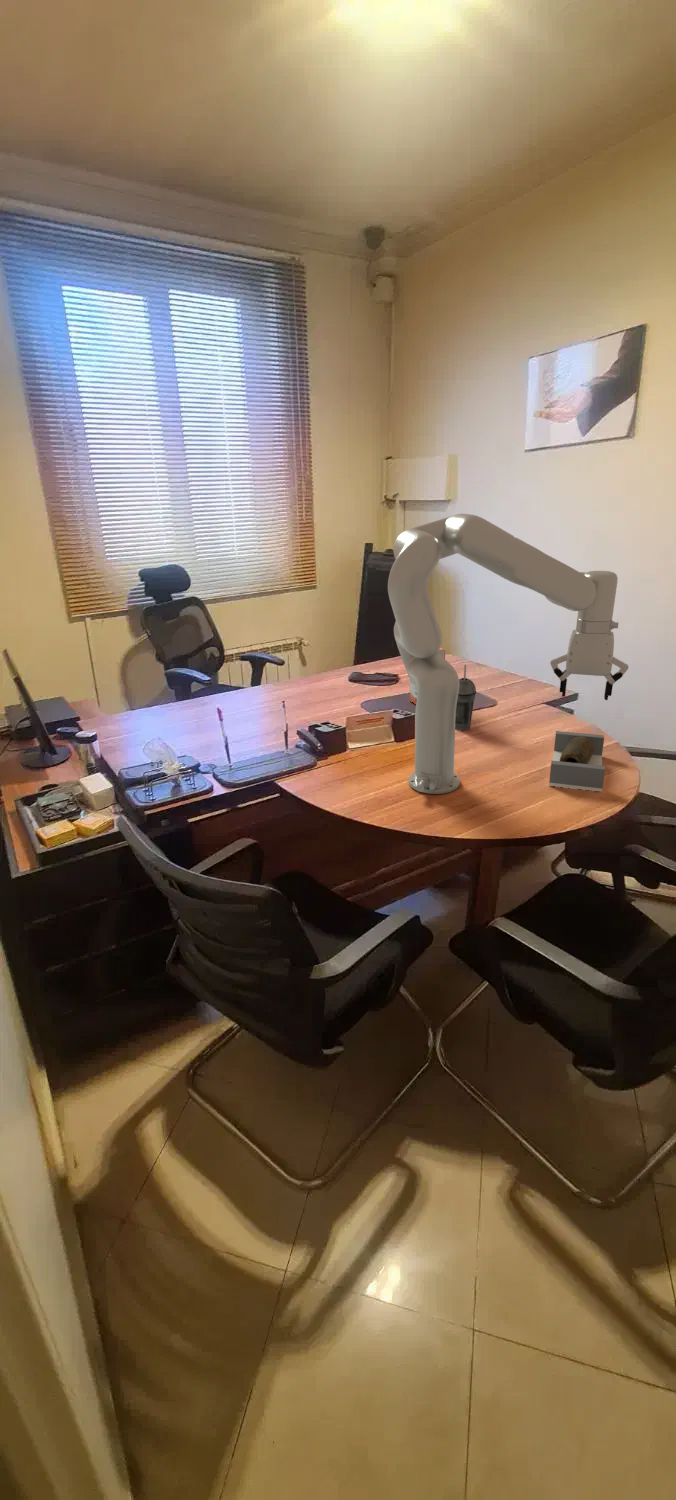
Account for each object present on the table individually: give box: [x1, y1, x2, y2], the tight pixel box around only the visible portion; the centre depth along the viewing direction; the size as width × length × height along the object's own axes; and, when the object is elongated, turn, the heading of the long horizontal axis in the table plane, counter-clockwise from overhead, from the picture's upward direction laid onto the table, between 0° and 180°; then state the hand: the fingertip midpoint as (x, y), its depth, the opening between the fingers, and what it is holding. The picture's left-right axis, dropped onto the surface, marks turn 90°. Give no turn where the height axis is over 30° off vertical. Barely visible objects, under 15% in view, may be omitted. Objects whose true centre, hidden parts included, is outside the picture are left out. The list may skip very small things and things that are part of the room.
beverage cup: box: [455, 664, 477, 732], centre depth 186 cm, size 7×7×20 cm
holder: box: [548, 730, 606, 793], centre depth 159 cm, size 22×12×6 cm, turn 159°
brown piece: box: [560, 736, 594, 764], centre depth 158 cm, size 15×7×7 cm, turn 154°
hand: (584, 696), depth 152 cm, fingers open, 9 cm apart
